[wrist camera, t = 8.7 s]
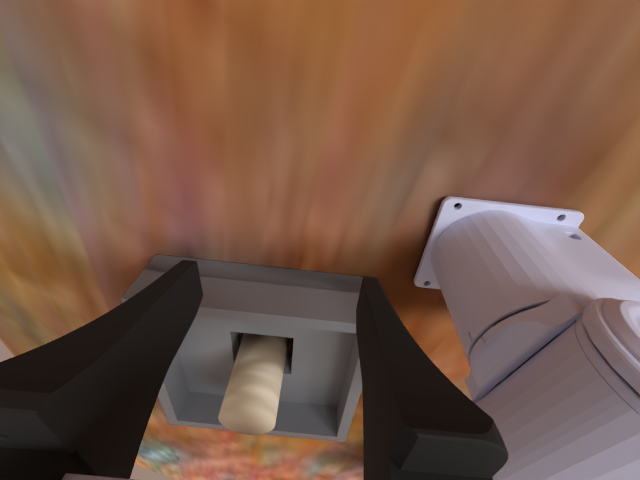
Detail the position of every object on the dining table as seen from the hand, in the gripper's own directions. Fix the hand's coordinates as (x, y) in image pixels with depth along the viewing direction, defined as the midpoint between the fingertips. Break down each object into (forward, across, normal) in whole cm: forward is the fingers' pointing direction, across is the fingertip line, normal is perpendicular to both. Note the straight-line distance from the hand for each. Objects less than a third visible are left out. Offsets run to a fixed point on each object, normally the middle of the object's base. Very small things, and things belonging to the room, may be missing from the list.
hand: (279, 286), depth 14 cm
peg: (+9, +3, +16) cm, 19 cm away
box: (+9, +3, +16) cm, 19 cm away
